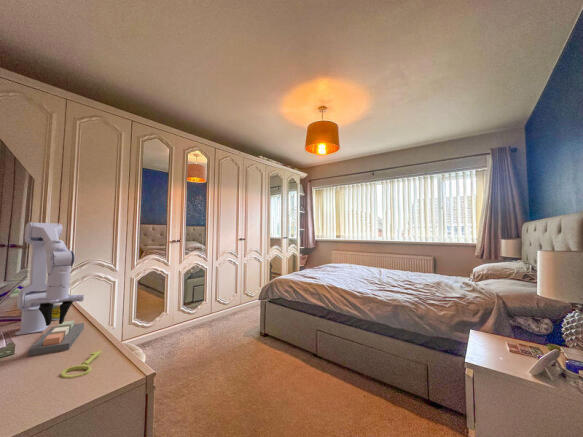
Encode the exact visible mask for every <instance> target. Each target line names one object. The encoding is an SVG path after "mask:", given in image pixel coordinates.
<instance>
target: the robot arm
mask: <svg viewBox="0 0 583 437" xmlns="http://www.w3.org/2000/svg"><path fill="white" fill-rule="evenodd" d="M62 234H63V225H62V224H61V223H59V222H57V223H56V222H54V223H52V222H32V221H31V222H30V221H29V222H28V223H26V225H25V230H24V241H25V243H27V244H30V246H31V247H30V248H31V255H30V256H31V259H30V271H29V284H27V285H25V286H24V287H22V288H21V289H20V290H18V296H17V298H16V308H17V309H18V310H21V319H20V328H19V329H20V330H18V331H16V332H15V334H14V336H18V335H19V336H20V335H25V334H26V335H27V334H33V333H41V332H44V331H45V330H46V329H47V328H49V326H50V325H51V324H52V321H53V320H52V309H53V304H54V303H62V304H61V305H60V319H59V320H58V325H59V324H62V323H63V322H65V318H66V315H67V313H68V311H69V310H70V307H71V306H72V304H73V303H74V302H79V303H80V302H84V301H85V294H70V283H71V282H70V280H71V271H72V270H71V269H72V267H73V266H74V263H75V258H76V257H75V256H76V255H75V252H74V250H70V249H68V247H67V245H66V243H65V242H64V240H62V239H60V237H61V236H62ZM69 294H70V295H69Z"/></svg>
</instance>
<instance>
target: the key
mask: <svg viewBox="0 0 583 437" xmlns="http://www.w3.org/2000/svg"><path fill="white" fill-rule="evenodd" d="M101 354H102V351H101V350H97V351H92V352H91V353H89V355H90V357H89V358H88V359H87V360H86V361H83V362H82V363H81V364H79V365H73V366H70V367H66V368H65V369H63V370H62V371H61V373H60V377H61V378H62V377H63V378H62V379H72V378H71V377H77V378H79V377H78V376H81V377H83V376H82V375H84V376H86V375H88V374H90V373H91V372H92V366H91V365H89V364H90V363H91V362H93V361H94V360H95V359H96V358H97V357H99V355H101ZM83 369H85V371H83V372H81V373H78V374H77V373H76V374H66V373H69V372H72V371H77V370H83ZM89 372H90V373H89Z"/></svg>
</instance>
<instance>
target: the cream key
mask: <svg viewBox="0 0 583 437" xmlns="http://www.w3.org/2000/svg"><path fill="white" fill-rule="evenodd" d="M59 333H63V336H66V335H67V334H68V333H69V326H67V327H60V328H55V329H54V330H53V331H52V332H51V335H52V334H59Z"/></svg>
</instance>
